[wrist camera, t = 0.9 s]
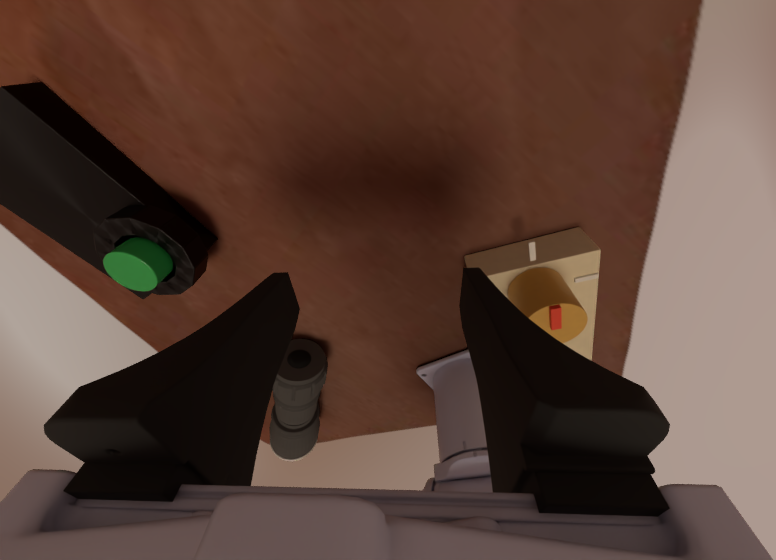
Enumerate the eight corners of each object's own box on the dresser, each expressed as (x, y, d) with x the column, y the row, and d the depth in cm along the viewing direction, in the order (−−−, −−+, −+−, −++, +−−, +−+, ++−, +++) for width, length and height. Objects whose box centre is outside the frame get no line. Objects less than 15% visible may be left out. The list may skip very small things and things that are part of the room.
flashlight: (277, 329, 29) (256, 378, 25) (334, 339, 30) (322, 389, 25) (278, 411, 38) (263, 458, 34) (321, 418, 39) (311, 464, 34)
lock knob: (563, 301, 21) (589, 343, 18) (510, 312, 22) (526, 354, 19) (563, 261, 19) (592, 301, 16) (504, 274, 20) (522, 315, 17)
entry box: (238, 240, 23) (212, 271, 20) (170, 290, 26) (139, 323, 23) (49, 67, 17) (-33, 72, 14) (-8, 161, 20) (-85, 184, 17)
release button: (183, 262, 20) (166, 279, 19) (158, 282, 21) (140, 298, 20) (139, 228, 19) (117, 243, 17) (114, 251, 20) (92, 266, 18)
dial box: (574, 364, 30) (589, 393, 28) (492, 377, 32) (499, 405, 30) (580, 201, 20) (605, 224, 18) (458, 234, 22) (465, 259, 19)
